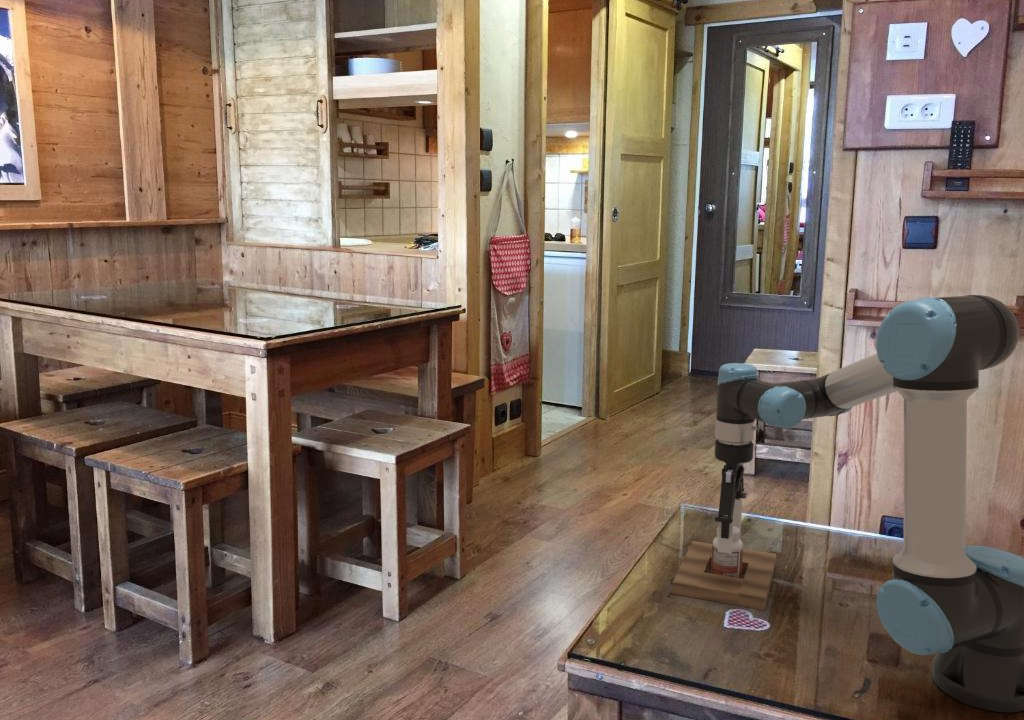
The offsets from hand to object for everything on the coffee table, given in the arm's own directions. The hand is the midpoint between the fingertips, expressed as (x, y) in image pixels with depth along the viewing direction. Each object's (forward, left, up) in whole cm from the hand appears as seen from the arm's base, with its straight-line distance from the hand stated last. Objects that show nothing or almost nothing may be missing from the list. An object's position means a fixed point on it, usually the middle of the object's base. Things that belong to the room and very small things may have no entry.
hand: (729, 539), depth 180 cm
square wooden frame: (0, 0, -9) cm, 9 cm away
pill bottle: (0, 0, -9) cm, 9 cm away
